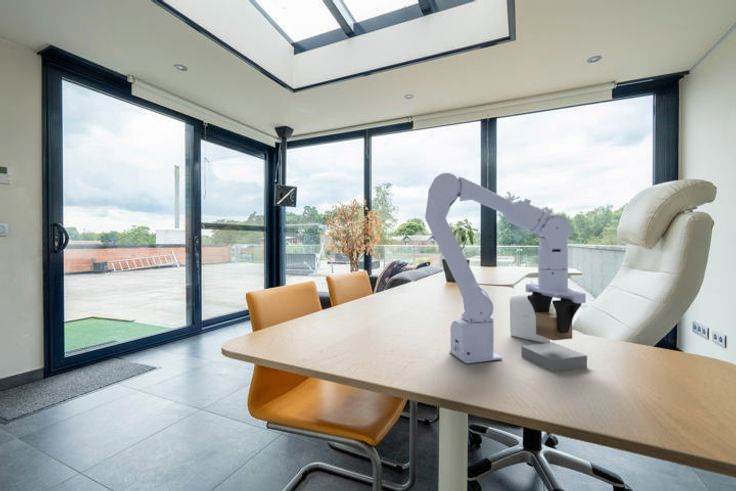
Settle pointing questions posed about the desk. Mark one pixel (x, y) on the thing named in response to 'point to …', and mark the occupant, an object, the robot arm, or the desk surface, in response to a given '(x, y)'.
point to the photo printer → (524, 319)
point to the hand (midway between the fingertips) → (552, 329)
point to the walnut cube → (550, 326)
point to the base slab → (554, 357)
